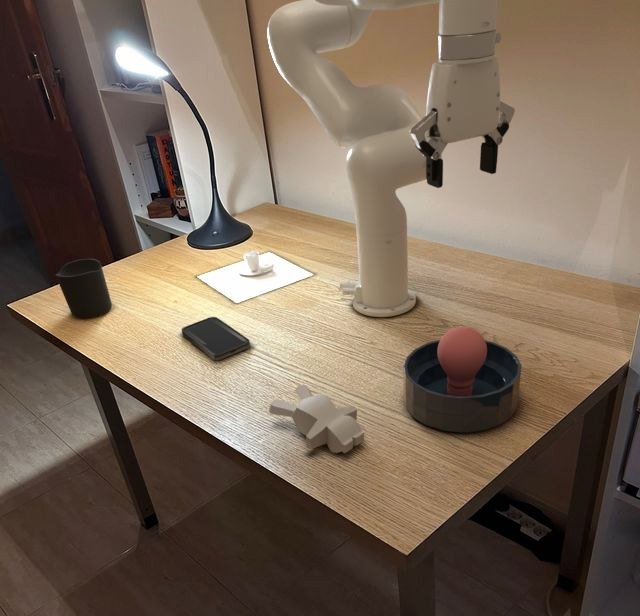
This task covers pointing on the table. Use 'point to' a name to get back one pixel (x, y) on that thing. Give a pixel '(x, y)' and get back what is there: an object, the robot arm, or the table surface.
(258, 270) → the teacup and saucer
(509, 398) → the dark grey round tub
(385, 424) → the table surface
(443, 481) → the table surface
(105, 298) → the dark grey spouted beaker
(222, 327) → the phone
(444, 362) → the light bulb
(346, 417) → the bunny figurine
